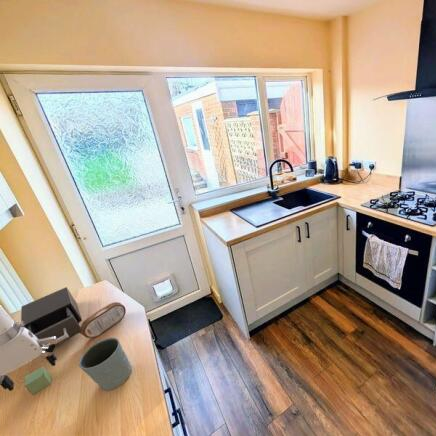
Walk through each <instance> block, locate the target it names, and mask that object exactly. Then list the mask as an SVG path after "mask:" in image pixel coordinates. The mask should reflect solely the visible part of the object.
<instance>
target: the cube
mask: <svg viewBox="0 0 436 436" xmlns="http://www.w3.org/2000/svg"><path fill="white" fill-rule="evenodd" d="M51 384H52V381H51V374H50V373H49V372H48V370H47V369H46V368H45V367H44V366H41V367H39V368H38V369H36V370H34V371H31V373H28V374H27V375H26V376H24V387H25V388H26V390H27V391H28V392H29V393H30V394H31V395H35V394H37V393H38V392H40V391H41V390H43V389H45V388H47V387H48V386H50V385H51Z"/></svg>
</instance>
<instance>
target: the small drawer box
mask: <svg viewBox="0 0 436 436" xmlns="http://www.w3.org/2000/svg"><path fill="white" fill-rule="evenodd" d="M67 306H70V307H71V309H72V310H73V312H74V313H75V316H76V319H77V323H80V322H81V321H82V316H81V312H80V309H79V306H78V303H77V301H76V300H75V298H74V296H73V295H72V293H71V292H70V290H69V289H68V287H67V286H66V287H63V288H60V289H59V290H56V291H54V292H51V293H49V294H47V295H44V296H42V297H40V298H38V299H35V300H33V301H31V302H28V303H26V304H24V305H22V306H20V307H21V309H20V311H21V312H20V315H21V316H20V322H22V321H23V322H24V323H25V325H24V326H22V327H25V328H26V329H28V325H29V324H31V323H33V322H35V321H38V320H40V319H42V318H44V317H46V316H48V315H50V314H52V313H54V312H57V311H59V310H61V309H63V308H65V307H67Z"/></svg>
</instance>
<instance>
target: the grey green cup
mask: <svg viewBox="0 0 436 436" xmlns="http://www.w3.org/2000/svg"><path fill="white" fill-rule="evenodd" d="M78 367H79V368H80V369H81V370H82V371H83V372H84V373H86V374H87V375H88V376H89V378H90V379H91V380H92V381H93V382H94V383H96V384H97V385H98V387H99V388H101V390H103V391H105V392H107V391H108V392H109V391H113V390H115V389H117V388H119V387H121V386H122V385H123V384H124V383H125V382H126V381H127V380H128V379H129V377H130V376H131V374H132V371H133V370H132V369H133V367H132V364H131V362H130V361H129V358H128V356H127V354H126V352H125V350H124V349H123V346H122V344H121V342H120V340H119V339H118V338H117V337H108V338H104V339H101V340H99V341H97V342H95V343H93V345H91V346H90V347H89V348H87V349H86V350H85V351H84V352H83V354H82V355H81V356H80V358H79V361H78Z"/></svg>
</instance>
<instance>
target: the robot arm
mask: <svg viewBox="0 0 436 436" xmlns="http://www.w3.org/2000/svg"><path fill="white" fill-rule="evenodd" d="M24 325H25V323H24V322H23V321H22V322H21V321H20V322H16V320H14V319H12V317H11V316H10V315H9V313H8V312H7V311H6V310H5V309H4V308H3V306H2V305H1V304H0V386H1V388H3V390H8V391H9V392H12V391H13V390H14V388H15V382H14V381H13V380H12V378H10V377H9V376H8V375H9V374H10V373H12V372H13V371H15V370H17V369H19V368H20V367H21V368H22V367H23V366H25V365H26V364H28V363H30V362H32V361H34V360H36V359H37V358H39V357H45V359H46V360H47V362H48V363H49V365H51V366H52V367H54V366H56V365H57V364H56V361H57V360H58V359H57V356H56V355H55V354H54V350H55V349H56V347H57V345H56V340H57V339H56V336H54V337H49V338H44V339H38V338H37V337H36V336H35V335H34V334H33V333H31V332H30V331H29V330H28V329H26V328H25V327H22V326H24ZM47 343H50V345H49V347H48V348H47V347H42V346H43V344H47Z"/></svg>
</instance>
